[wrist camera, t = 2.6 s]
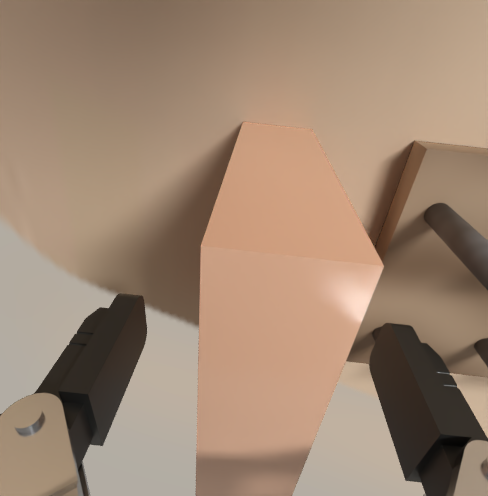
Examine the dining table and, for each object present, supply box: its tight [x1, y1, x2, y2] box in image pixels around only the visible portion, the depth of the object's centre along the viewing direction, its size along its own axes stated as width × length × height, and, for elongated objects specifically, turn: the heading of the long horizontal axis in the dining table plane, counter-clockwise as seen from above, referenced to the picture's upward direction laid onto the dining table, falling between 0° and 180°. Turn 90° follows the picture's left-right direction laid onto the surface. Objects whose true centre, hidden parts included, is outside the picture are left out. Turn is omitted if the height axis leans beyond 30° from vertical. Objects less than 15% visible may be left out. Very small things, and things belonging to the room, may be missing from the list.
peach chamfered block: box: [196, 122, 384, 496], centre depth 12 cm, size 10×3×10 cm, turn 175°
